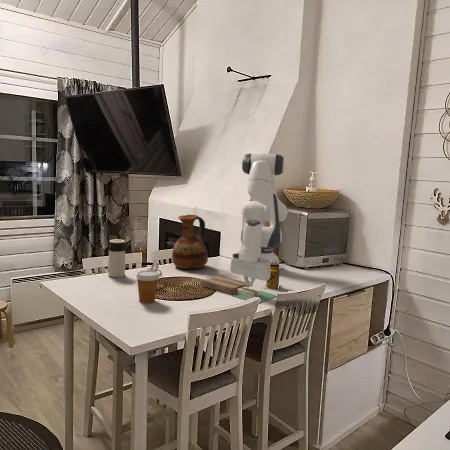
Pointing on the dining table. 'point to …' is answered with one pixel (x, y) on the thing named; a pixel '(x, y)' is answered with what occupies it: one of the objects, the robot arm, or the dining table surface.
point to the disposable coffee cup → (147, 285)
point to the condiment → (273, 277)
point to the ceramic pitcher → (190, 245)
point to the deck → (224, 284)
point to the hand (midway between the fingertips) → (249, 286)
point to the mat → (263, 296)
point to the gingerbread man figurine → (156, 271)
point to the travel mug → (116, 258)
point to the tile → (248, 291)
